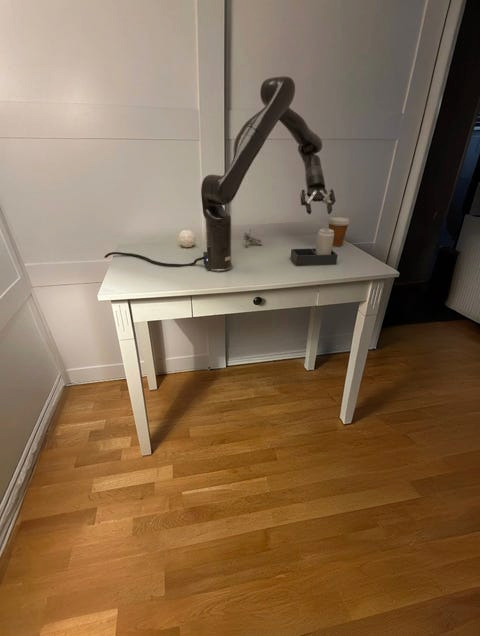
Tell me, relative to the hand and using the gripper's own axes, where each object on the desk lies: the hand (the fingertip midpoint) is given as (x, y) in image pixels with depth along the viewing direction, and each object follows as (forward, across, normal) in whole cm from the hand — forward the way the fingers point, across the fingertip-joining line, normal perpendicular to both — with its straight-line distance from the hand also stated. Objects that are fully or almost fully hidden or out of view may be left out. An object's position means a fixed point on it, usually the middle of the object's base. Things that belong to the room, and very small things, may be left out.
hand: (319, 213), depth 130 cm
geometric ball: (+3, -56, +22) cm, 60 cm away
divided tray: (+19, -4, +5) cm, 20 cm away
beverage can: (+19, 0, +5) cm, 19 cm away
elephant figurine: (+3, -26, +22) cm, 34 cm away
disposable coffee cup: (+5, +14, +20) cm, 25 cm away
